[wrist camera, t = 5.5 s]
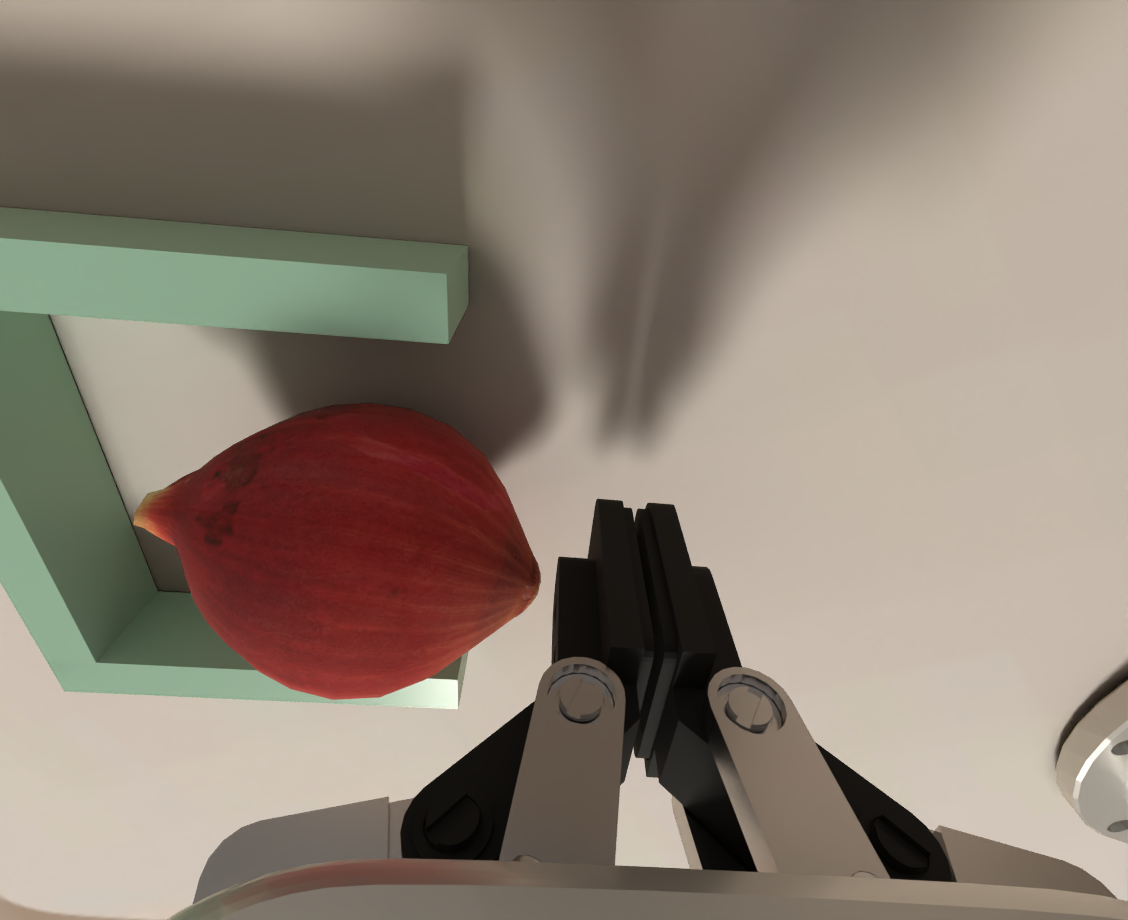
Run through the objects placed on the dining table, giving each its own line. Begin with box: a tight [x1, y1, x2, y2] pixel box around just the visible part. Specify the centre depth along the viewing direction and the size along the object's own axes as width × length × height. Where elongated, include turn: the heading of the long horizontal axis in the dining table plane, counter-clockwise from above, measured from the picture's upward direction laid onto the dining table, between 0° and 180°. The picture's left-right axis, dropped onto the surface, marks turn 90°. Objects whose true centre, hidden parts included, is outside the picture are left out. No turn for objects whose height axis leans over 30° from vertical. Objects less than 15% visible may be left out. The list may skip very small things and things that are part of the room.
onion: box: [134, 403, 541, 700], centre depth 12 cm, size 6×6×8 cm
